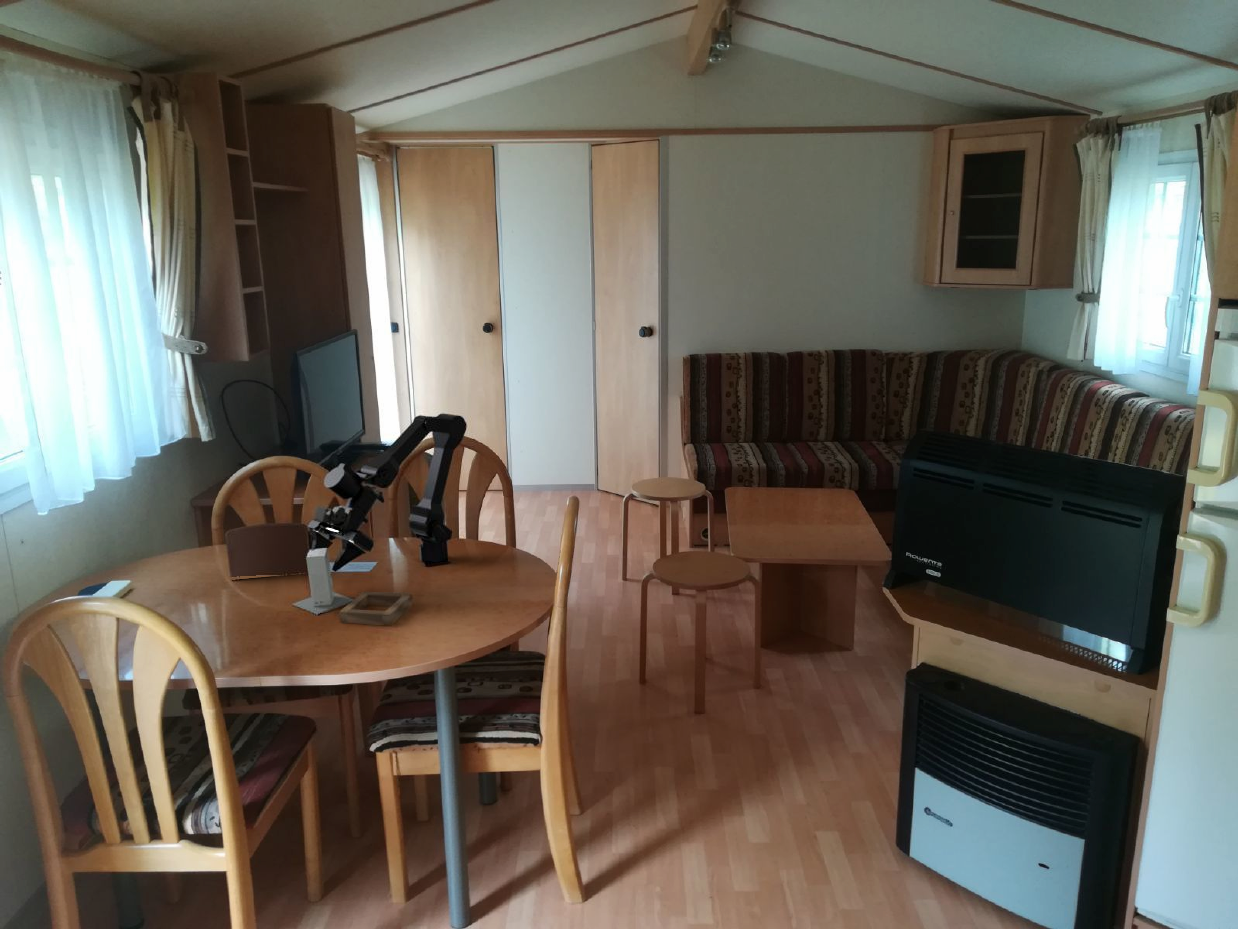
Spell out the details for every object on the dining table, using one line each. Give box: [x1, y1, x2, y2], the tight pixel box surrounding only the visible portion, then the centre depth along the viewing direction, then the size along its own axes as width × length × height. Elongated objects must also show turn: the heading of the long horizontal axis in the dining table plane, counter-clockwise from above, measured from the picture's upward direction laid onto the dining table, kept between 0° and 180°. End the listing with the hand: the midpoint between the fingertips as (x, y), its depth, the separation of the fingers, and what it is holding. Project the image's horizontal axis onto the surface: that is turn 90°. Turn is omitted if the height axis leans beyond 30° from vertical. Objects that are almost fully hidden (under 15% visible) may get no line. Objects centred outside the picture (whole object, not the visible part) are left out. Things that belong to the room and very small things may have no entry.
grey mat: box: [291, 592, 355, 616], centre depth 213 cm, size 10×10×1 cm
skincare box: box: [306, 548, 335, 606], centre depth 212 cm, size 6×4×12 cm
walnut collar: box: [338, 591, 414, 626], centre depth 206 cm, size 12×12×2 cm
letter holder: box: [224, 522, 313, 577], centre depth 234 cm, size 10×20×14 cm, turn 101°
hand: (321, 566), depth 211 cm, fingers open, 9 cm apart
